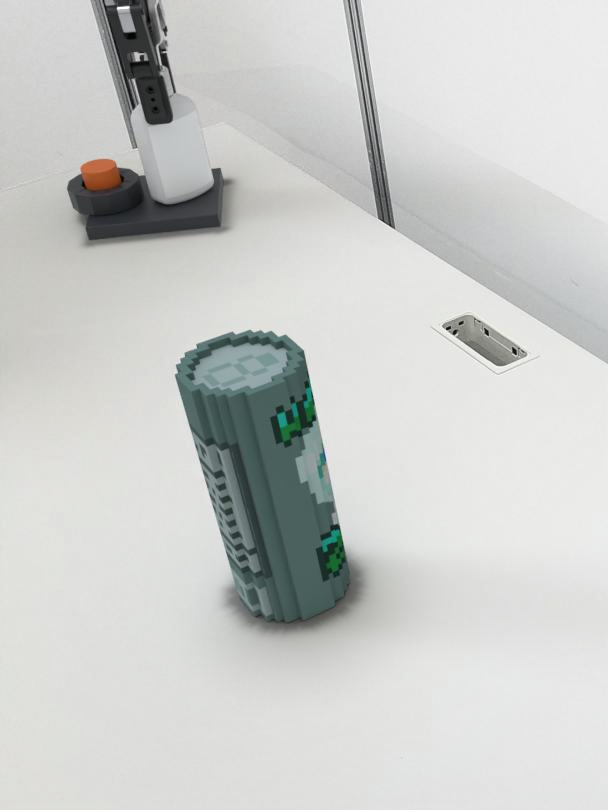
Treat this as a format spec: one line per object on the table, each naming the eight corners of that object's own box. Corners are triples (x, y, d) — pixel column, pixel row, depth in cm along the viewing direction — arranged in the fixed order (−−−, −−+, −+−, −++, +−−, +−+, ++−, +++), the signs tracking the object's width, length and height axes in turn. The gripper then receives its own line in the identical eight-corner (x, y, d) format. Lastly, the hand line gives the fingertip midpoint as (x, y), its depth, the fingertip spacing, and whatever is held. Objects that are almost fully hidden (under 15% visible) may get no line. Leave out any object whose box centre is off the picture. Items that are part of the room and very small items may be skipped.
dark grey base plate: (71, 242, 105) (60, 209, 103) (84, 193, 112) (74, 161, 110) (220, 227, 107) (212, 194, 105) (223, 180, 114) (216, 148, 112)
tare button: (84, 194, 106) (78, 174, 105) (88, 180, 108) (82, 160, 107) (120, 190, 107) (114, 171, 105) (123, 176, 109) (117, 157, 108)
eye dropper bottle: (219, 197, 108) (186, 56, 100) (154, 209, 107) (115, 66, 99) (212, 178, 112) (179, 39, 103) (148, 189, 110) (110, 49, 102)
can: (366, 591, 72) (322, 366, 61) (270, 636, 69) (208, 409, 59) (317, 538, 75) (268, 318, 65) (224, 579, 72) (158, 357, 62)
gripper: (63, -136, 98) (123, 85, 109) (40, -90, 87) (109, 148, 99) (161, -142, 99) (210, 77, 110) (149, -98, 88) (205, 139, 100)
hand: (162, 110), depth 104 cm, fingers closed on eye dropper bottle, 4 cm apart
